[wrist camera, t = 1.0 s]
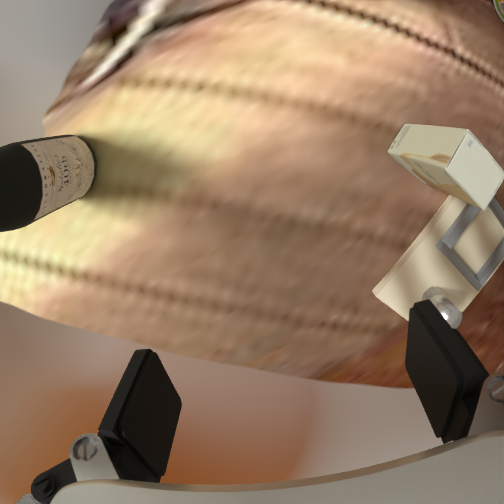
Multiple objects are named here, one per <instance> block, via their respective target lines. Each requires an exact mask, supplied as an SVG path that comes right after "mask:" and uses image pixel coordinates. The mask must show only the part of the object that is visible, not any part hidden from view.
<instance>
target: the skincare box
mask: <svg viewBox="0 0 504 504" xmlns="http://www.w3.org/2000/svg"><path fill="white" fill-rule="evenodd" d="M388 154H389V155H391V156H392V157H393V158H394V159H395V160H396V161H397V162H398V163H400V164H401V165H402V166H403V167H404V168H405V169H407V170H408V171H409V172H410V173H412V174H413V175H414V176H415V177H416V178H418V179H419V180H420V181H421V182H423V183H425V184H427V185H430V186H432V187H434V188H437V189H439V190H441V191H443V192H445V193H448V194H450V195H452V196H454V197H456V198H458V199H461V200H463V201H465V202H467V203H469V204H471V205H473V206H475V207H477V208H479V209H481V210H483V211H485V209H486V208H487V206H488V205H489V203H490V202H491V200H492V198H493V197H494V195H495V193H496V192H497V190H498V188H499V187H500V185H501V183H502V181H503V180H504V171H503V170H502V169H501V167H500V166H499V165H498V164H497V162H496V161H495V160H494V158H493V157H492V156H491V154H490V153H489V152H488V151H487V150H486V149H485V148H484V146H483V145H482V144H481V143H480V142H479V141H478V139H477V138H476V137H475V136H474V135H473V134H472V133H471V131H470V130H468V129H461V128H452V127H442V126H431V125H418V124H405V125H404V126H403V128H402V129H401V130H400V132H399V133H398V135H397V137H396V138H395V140H394V141H393V143H392V144H391V146H390V148H389V150H388Z"/></svg>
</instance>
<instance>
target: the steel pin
mask: <svg viewBox="0 0 504 504" xmlns="http://www.w3.org/2000/svg"><path fill="white" fill-rule="evenodd" d="M427 299H429V300H431V302H432V303H433V304H434V305H435V307H436V308H437V309H438V310H439V312H440V313H441V314H442V316H443V317H444V318H445V320H446V321H447V322H448V324H449V325H450V326H451V328H454V329H456V328H457V327H458V326H459V324H460V323H461V320H462V313H461V312H460V311H459V309H458V308H457V307H456V306H455V305H454V304H453V303H452V302H451V301H450V299H449V298H448V297H447V296H446V295H445V294H444V293H443V292H442V291H441V290H440V289H439V288H438V287H436V286H432V287H430V288H428V289H427V290H426V291H425V292H424V294H423V296H422V301H423V300H427Z"/></svg>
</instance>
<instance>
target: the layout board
mask: <svg viewBox="0 0 504 504" xmlns="http://www.w3.org/2000/svg"><path fill="white" fill-rule="evenodd" d="M503 260H504V210H503V209H502V207H501V206H500V204H499V203H498V201H497V200H496V198H495V197H493V198H492V200H491V202H490V203H489V205H488V206H487V208H486V209H485V211H483V210H481V209H479V208H477V207H475V206H473V205H471V204H469V203H467V202H465V201H463V200H461V199H458V198H456V197H454V196H452V195H450V194H449V196H448V197H447V199H446V200H445V201H444V203H443V204H442V205H441V207H440V208H439V209H438V211H437V212H436V213H435V215H434V216H433V217H432V219H431V220H430V221H429V223H428V224H427V225H426V227H425V228H424V229H423V230H422V232H421V233H420V234H419V235H418V237H417V238H416V239H415V240H414V242H413V243H412V244H411V245H410V247H409V248H408V249H407V250H406V252H405V253H404V254H403V255H402V256H401V258H400V259H399V260H398V261H397V262H396V264H395V265H394V266H393V267H392V268H391V269H390V271H389V272H388V273H387V274H386V275H385V276H384V278H383V279H382V280H381V281H380V282H379V283H378V284H377V285H376V287H375V288H374V289H373V290H372V291H373V293H374V294H375V296H376V297H377V298H379V299H380V300H381V301H383V302H384V303H385V304H387V305H388V306H389V307H391V308H392V309H393V310H394V311H396V312H397V313H398V314H400V315H401V316H402V317H404V318H405V319H406V320H408V321H409V310H410V308H412V307H413V305H414V303H415V302H419V301H422V296H423V294H424V292H425V291H426V290H427V289H428V288H430V287H432V286H436V287H438V288H439V289H440V290H441V291H442V292H443V293H444V294H445V295H446V296H447V297H448V298H449V299H450V301H451V302H452V303H453V304H454V305H455V306H456V307H457V308H458V309H459V311H460V312H461V313H462V312H463V311H464V310H465V308H466V307H467V306H468V305H469V304H470V303H471V301H472V300H473V299H474V298H475V297H476V295H477V294H478V293H479V292H480V290H481V289H482V288H483V287H484V285H485V284H486V283H487V282H488V280H489V279H490V278H491V276H492V275H493V274H494V273H495V271H496V270H497V269H498V267H499V266H500V264H501V263H502V262H503Z"/></svg>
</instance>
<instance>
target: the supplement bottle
mask: <svg viewBox="0 0 504 504" xmlns="http://www.w3.org/2000/svg"><path fill="white" fill-rule="evenodd" d="M493 3H494V7H495V9H496V12H497V14H498V15H499V17H500V18H501V20H502V21H503V22H504V0H493Z"/></svg>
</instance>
